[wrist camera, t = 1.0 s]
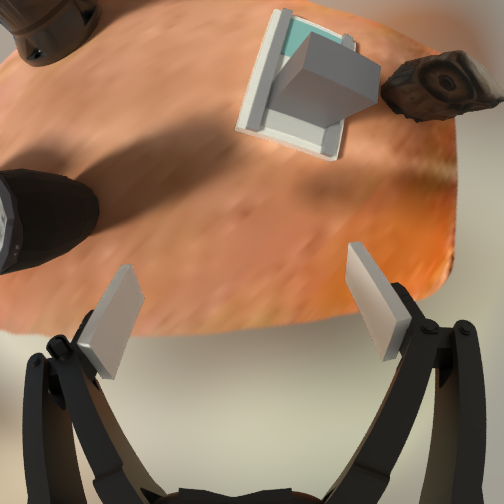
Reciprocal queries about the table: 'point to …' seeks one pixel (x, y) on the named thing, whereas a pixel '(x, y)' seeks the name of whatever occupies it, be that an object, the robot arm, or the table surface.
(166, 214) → the table surface
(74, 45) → the robot arm
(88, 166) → the table surface
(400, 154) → the table surface
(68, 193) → the portable speaker
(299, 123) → the white flat rectangular tray
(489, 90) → the owl
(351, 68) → the grey rectangular block
